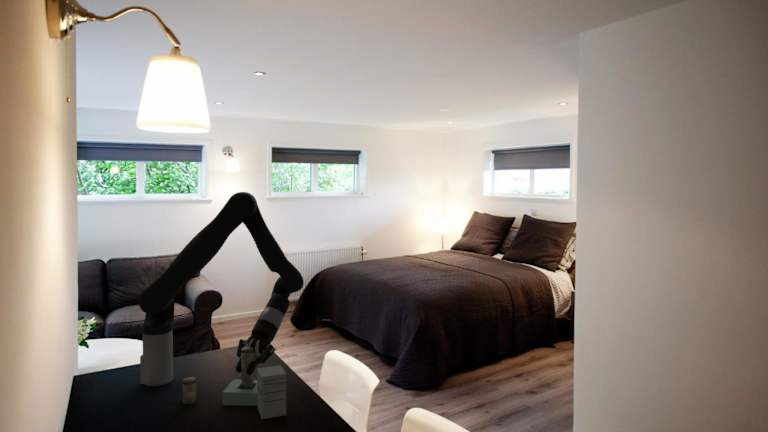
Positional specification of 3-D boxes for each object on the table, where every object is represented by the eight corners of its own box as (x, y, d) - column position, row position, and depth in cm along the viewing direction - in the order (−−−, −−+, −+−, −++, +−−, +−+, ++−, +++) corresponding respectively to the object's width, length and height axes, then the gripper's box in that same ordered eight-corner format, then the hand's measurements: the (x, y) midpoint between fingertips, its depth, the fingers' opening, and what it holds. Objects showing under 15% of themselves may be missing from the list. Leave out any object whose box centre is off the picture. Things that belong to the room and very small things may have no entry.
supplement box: (256, 409, 144) (256, 367, 143) (281, 405, 147) (281, 364, 146) (260, 420, 137) (260, 376, 137) (286, 415, 140) (286, 373, 140)
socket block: (222, 405, 146) (222, 392, 146) (233, 391, 156) (233, 379, 156) (261, 405, 146) (261, 393, 146) (270, 392, 156) (270, 380, 156)
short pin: (180, 404, 147) (180, 381, 147) (186, 398, 151) (185, 377, 150) (192, 404, 147) (192, 382, 146) (197, 399, 151) (197, 377, 150)
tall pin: (239, 388, 149) (239, 350, 149) (243, 383, 153) (243, 346, 152) (251, 388, 149) (251, 350, 149) (255, 383, 153) (254, 346, 152)
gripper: (246, 315, 160) (219, 363, 150) (280, 321, 154) (254, 371, 143) (257, 327, 165) (231, 374, 155) (290, 333, 159) (266, 382, 149)
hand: (242, 372), depth 149 cm, fingers closed on tall pin, 3 cm apart
